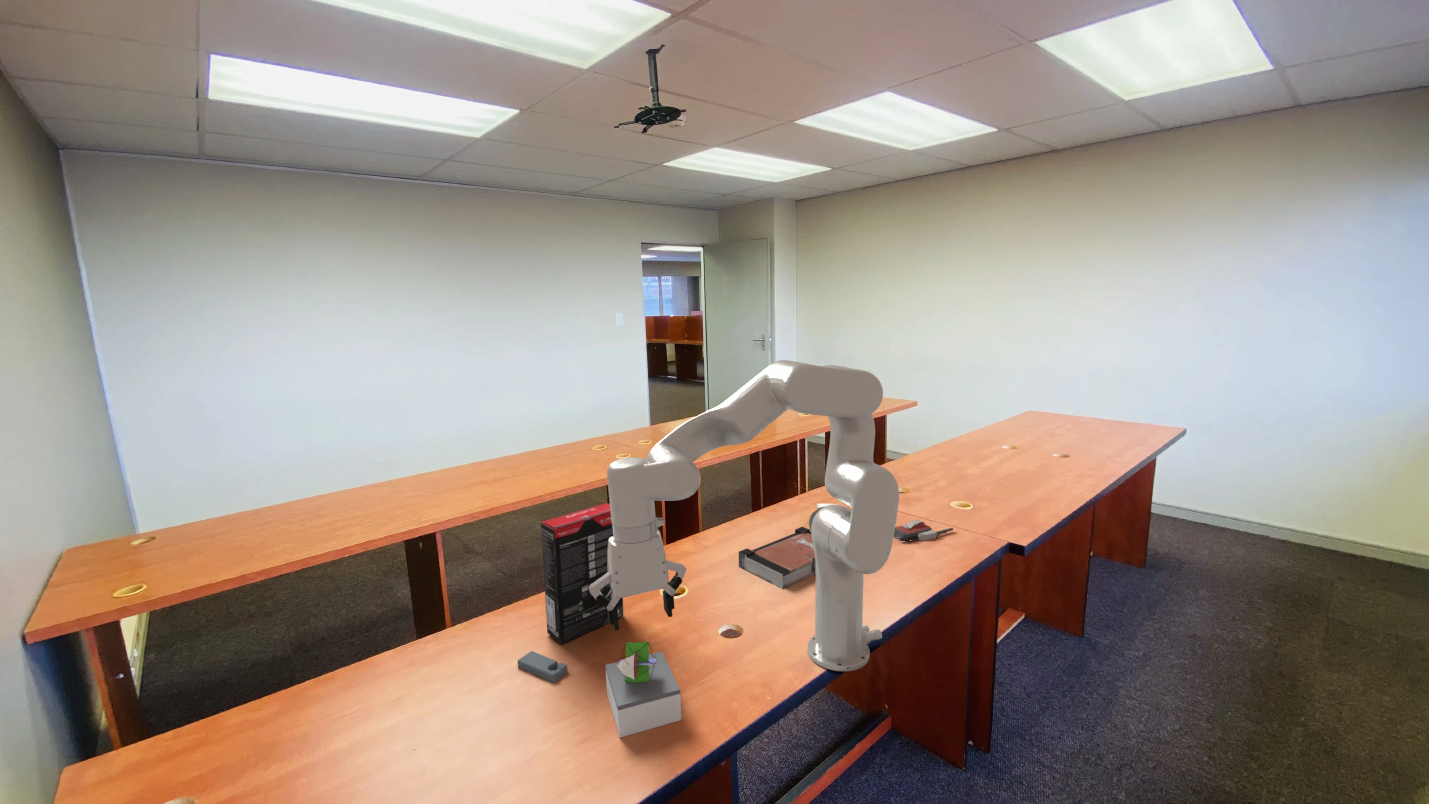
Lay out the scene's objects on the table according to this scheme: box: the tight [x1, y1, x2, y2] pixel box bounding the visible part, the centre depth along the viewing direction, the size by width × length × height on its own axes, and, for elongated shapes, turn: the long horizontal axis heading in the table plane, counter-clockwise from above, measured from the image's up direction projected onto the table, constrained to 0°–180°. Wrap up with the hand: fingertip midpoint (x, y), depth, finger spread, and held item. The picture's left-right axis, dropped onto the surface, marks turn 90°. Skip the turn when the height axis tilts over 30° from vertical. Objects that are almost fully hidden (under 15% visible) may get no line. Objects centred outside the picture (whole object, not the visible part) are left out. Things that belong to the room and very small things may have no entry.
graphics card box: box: [540, 502, 624, 645], centre depth 128 cm, size 17×7×27 cm, turn 134°
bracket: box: [517, 650, 569, 683], centre depth 115 cm, size 4×10×2 cm, turn 60°
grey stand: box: [604, 651, 682, 738], centre depth 103 cm, size 11×12×6 cm
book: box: [738, 526, 816, 590], centre depth 159 cm, size 26×18×5 cm
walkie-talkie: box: [893, 519, 954, 543], centre depth 176 cm, size 9×4×20 cm
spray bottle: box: [808, 503, 839, 531], centre depth 190 cm, size 3×11×24 cm
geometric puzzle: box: [616, 641, 657, 683], centre depth 102 cm, size 7×7×8 cm
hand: (642, 619), depth 101 cm, fingers open, 9 cm apart
